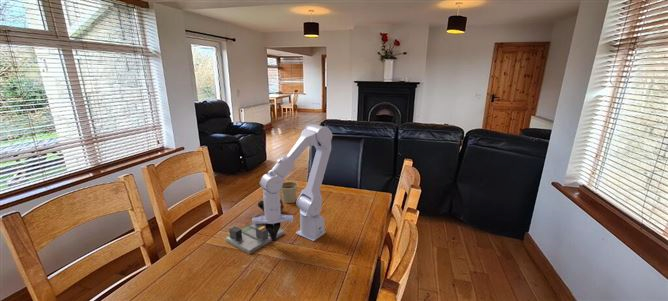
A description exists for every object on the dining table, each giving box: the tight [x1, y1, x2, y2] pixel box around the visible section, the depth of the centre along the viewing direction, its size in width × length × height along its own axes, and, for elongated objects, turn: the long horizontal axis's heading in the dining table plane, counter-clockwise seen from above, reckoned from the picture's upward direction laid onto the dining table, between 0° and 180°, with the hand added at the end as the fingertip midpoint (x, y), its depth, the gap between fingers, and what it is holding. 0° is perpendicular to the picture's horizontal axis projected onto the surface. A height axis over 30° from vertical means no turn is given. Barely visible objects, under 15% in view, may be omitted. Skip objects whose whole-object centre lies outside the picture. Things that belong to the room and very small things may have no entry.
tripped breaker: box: [256, 226, 268, 240], centre depth 109 cm, size 4×2×4 cm, turn 54°
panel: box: [225, 214, 285, 255], centre depth 112 cm, size 14×17×5 cm
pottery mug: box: [257, 199, 285, 212], centre depth 131 cm, size 12×10×8 cm
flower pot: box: [280, 181, 299, 204], centre depth 144 cm, size 9×9×9 cm
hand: (274, 240), depth 106 cm, fingers closed
